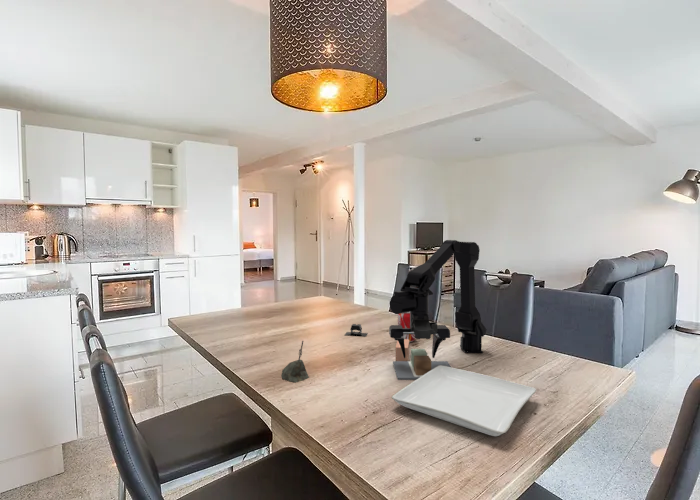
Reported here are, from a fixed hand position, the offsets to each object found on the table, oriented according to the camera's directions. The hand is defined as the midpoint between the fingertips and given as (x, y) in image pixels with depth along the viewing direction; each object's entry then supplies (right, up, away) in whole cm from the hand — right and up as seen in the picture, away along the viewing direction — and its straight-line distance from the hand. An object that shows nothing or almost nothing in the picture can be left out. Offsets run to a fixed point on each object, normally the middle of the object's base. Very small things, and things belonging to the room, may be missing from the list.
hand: (418, 357), depth 123 cm
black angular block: (-20, -2, +38) cm, 43 cm away
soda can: (0, -2, +29) cm, 29 cm away
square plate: (+7, -5, -27) cm, 28 cm away
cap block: (-4, -3, +10) cm, 11 cm away
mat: (+1, -3, -3) cm, 5 cm away
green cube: (0, -2, 0) cm, 2 cm away
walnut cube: (0, -3, -6) cm, 7 cm away
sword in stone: (-39, -4, -7) cm, 40 cm away
